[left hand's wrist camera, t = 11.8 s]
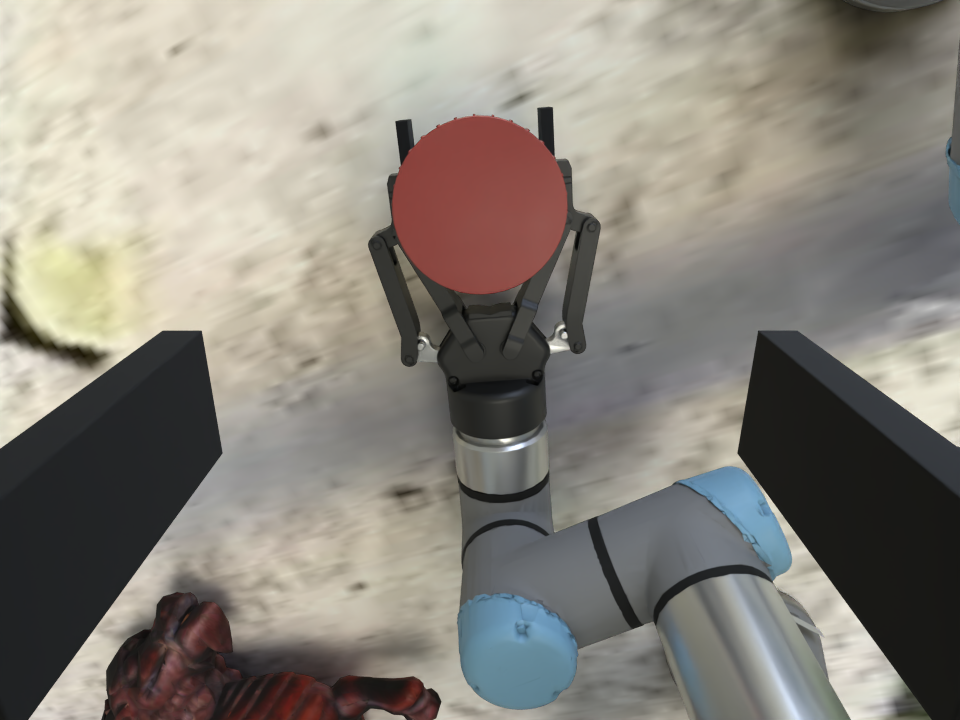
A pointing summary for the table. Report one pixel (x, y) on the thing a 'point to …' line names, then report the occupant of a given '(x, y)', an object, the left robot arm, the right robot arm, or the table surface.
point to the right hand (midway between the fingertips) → (473, 114)
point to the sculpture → (235, 678)
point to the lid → (479, 204)
